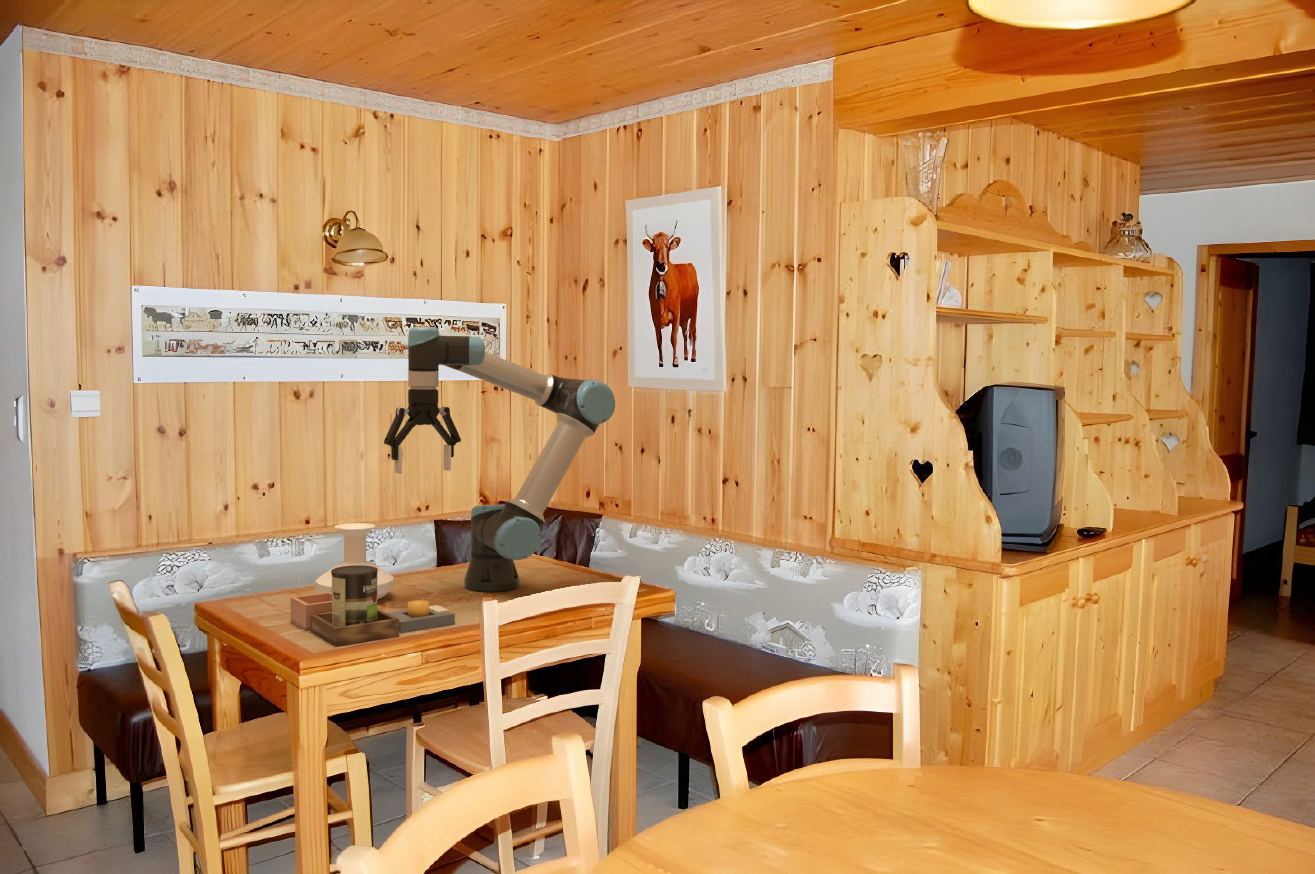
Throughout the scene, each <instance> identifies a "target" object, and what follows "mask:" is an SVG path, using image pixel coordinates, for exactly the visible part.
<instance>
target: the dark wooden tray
mask: <svg viewBox="0 0 1315 874" xmlns="http://www.w3.org/2000/svg"><path fill="white" fill-rule="evenodd" d="M387 613H388V612H385V611H382V610H381V609H379V608H377V621H376V622H369V623H363V624H356V625H350V626H343V627H337V626H335V625H333V624H332V612H327V613H320V614H313V615H310V619H311V630H310V633H312V634H313V635H315V636H317V637H318V638H320V639H322V640H324V641H325V642H327V643H329V644H330V645H333V646H334V647H341V646H348V645H354V644H361V643H366V642H372V641H378V640H384V639H390V638H392V639H393V638H397V637H400V632H399V619H398V618H396V617H394V616H392V615H389V614H387Z"/></svg>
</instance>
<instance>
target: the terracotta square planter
mask: <svg viewBox="0 0 1315 874" xmlns="http://www.w3.org/2000/svg"><path fill="white" fill-rule="evenodd" d="M327 612H332V592H326V593H318V592H317V593H312V594H303V595H299V596H291V597H290V622H291V623H292V624H294V625H295V626H297V627H298V628H301V629H302V630H304V631H307V632H308V631H311V619H310V615H313V614H320V613H327Z"/></svg>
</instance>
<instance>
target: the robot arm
mask: <svg viewBox="0 0 1315 874" xmlns="http://www.w3.org/2000/svg"><path fill="white" fill-rule="evenodd" d="M439 331H440V330H439V329H438V328H437V327H429V326H428V327H427V326H425V327H423V326H414V327H411V328H410V329H409V330H408V338H407V339H408V340H407V356H408V358H407V359H408V361H407V362H408V366H407V367H408V369H407V384H408V385H407V386H408V387H409V389H408V390H407V403H408V405H407V408H403V407H399V406H398V407H396V408H395V417H394V418H393V421H392V423H391V424H390V427H389V430H388V432H387V433H386V436H385V438H384V441H383V444H384V445H386V446H389V447H390V449H391V451H390V453H391V454H390V456H391V460H392V461H393V463H394V473H395V474H403V447H402V446H401V447H400V445H401V444H402V443H403V442H404V440H405V438H407V436H408V435H409V434H410V432H412V430H413V428H415V427H416V426H424V425H425V426H430V425H431V426H432V427H433V429H435V431H436V432H437V433H438V435H440V437H441V438H442V440H443V441H444V442H445V443H446V444H443V465H442V466H443V471H449V472H451V471H452V458H454V455H455V446H456V445H457V443H461V442H462V438H461V436H460V434H459V431H458V430H457V427H456V425H455V423H454V421H453V418H452V417H451V410H450V407H449V406H442V407H439V390H438V389H437V388H438V387H439V366H445V367H448V368H450V369H453V370H456V371H458V372H461V373H464V374H466V375H469V376H471V377H474V378H476V379H478V380H482V381H484V382H486V383H490V384H492V385H494V386H496V387H499V388H502V389H505V390H507V391H510V392H513V393H515V394H518V395H520V396H523V397H525V398H528V399H531V400H532V401H533V400H534V402H535V404H536V405H537V406H539V407H541V408H544V409H545V410H549V411H550V412H552V413H554V414H556V418H557V424H556V426H555V428H554V429H553V431H552V433H551V434H550V436H549V438H548V440H547V441H546V443H545V445H544V446H543V448H542V450H541V452H540V454H539V455H538V457H537V458H536V460H535V463H534V464H533V466H532V468H531V470H530V471H529V474H528V476H526V479H525V480H524V482H523V483H522V486H521V487H520V489H519V491H518V493H517V494H516V496H515V497H514V498H511V499H508V500H507V501H506V502H505V503H504V504H503V503H502V504H501V503H500V504H499V503H498V504H483V505H474V506H473V507H472V509H471V512H470V513H471V514H470V515H471V516H470V561H469V564H468V566H467V570H466V573H465V576H464V588H465V589H466V590H470V591H475V592H492V593H493V592H504V591H511V590H515V589H517V588H518V587H519V586H520V577H519V574H518V571H517V567H516V565H515V564H516V563H515V562H514V561H520V560H525V559H527V558H529V557H531V556H533V554H535V553H536V552H537V550H538V549H539V546H540V545H541V542H542V535H541V534H542V531H541V529H542V528H543V526H544V524H545V522H546V520H545V518H544V512H545V511H546V509H547V507H548V505H549V504H550V502H551V500H552V498H553V497H554V494H555V493H556V491H557V489H558V487H559V486H560V484H561V482H562V480H563V478H564V476H565V475H566V473H567V471H568V469H569V467H570V466H571V464H572V463H573V461H574V459H575V458H576V456H577V454H578V452H579V450H580V448H581V446H582V445H583V442H584V441H585V440H586V438H588V437H592V436H594V435H595V433H596V431H597V429H598V428H599V426H600V425H601V424H604V423H606V422H607V421H609V420H610V418H612V416H613V414H614V412H615V410H616V399H615V395H614V393H613V390H612V388H610V386H608V384H607V383H604V382H602V381H599V380H596V379H580V378H567V377H561V376H557V375H554V374H551V373H546V374H541V373H540V372H537V371H534V370H532V369H529V368H527V367H525V366H521V365H519V364H518V363H517V364H516V363H515V362H512V361H509V360H507V359H504V358H502V357H499V356H497V355H495V354H492V353H489V352H486V345H485V343H484V342H485V341H484V340H483V339H482V338H481V337H479V336H471V335H442V334H440V332H439ZM438 415H440V416H441V418H442V420H443V422H444V424H445V426H446V429H447V430H446V429H445V428H444V426H443V425H442V424H441V421H440V420H439V418H437V417H438ZM406 416H408V419H407V420H406V422H405V424H404V425H403V426H402V428H401V425H402V424H403V421H404V419H405V417H406ZM400 428H401V429H400ZM399 430H400V431H399ZM448 432H449V433H448Z"/></svg>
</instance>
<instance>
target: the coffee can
mask: <svg viewBox="0 0 1315 874" xmlns="http://www.w3.org/2000/svg"><path fill="white" fill-rule="evenodd" d="M331 569H332V568H331ZM377 572H378V569H377V568H376V567H373V566H364V565H354V566H343V567H338V568H334V569H332V570H331V574H332V624H333V625H335V626H337V627H343V626H350V625H356V624H363V623H369V622H376V621H377V609H378V600H377Z"/></svg>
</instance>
